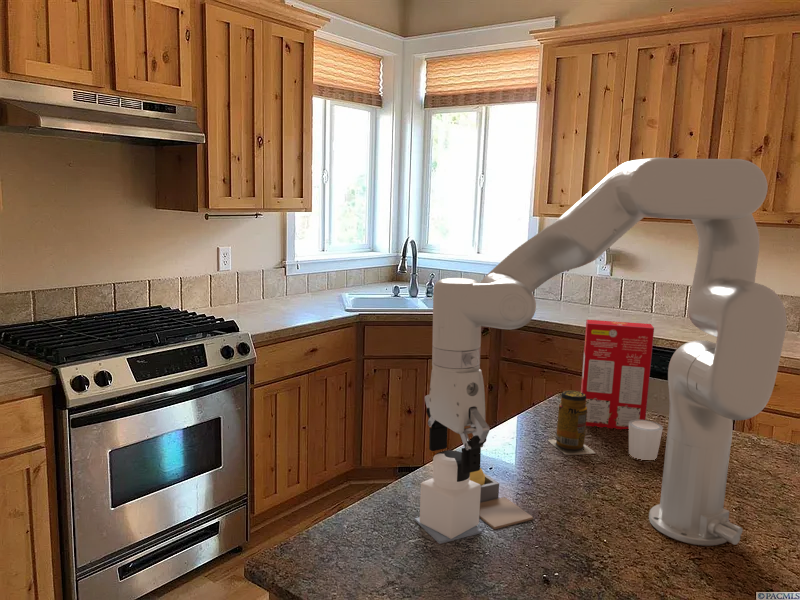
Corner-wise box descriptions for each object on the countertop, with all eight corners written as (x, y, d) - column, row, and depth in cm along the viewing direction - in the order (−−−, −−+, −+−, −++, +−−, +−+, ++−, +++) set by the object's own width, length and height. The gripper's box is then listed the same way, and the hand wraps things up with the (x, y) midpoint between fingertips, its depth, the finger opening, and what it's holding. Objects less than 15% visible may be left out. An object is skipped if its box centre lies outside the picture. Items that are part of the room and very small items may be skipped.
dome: (489, 494, 116) (490, 467, 115) (467, 499, 114) (469, 471, 113) (474, 483, 120) (476, 458, 119) (453, 488, 118) (455, 462, 117)
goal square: (481, 532, 104) (481, 530, 104) (439, 543, 100) (439, 541, 100) (455, 510, 111) (455, 508, 111) (414, 520, 107) (414, 518, 107)
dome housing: (498, 498, 116) (499, 483, 115) (465, 506, 112) (466, 490, 112) (476, 483, 122) (477, 468, 121) (444, 490, 119) (445, 474, 118)
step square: (533, 519, 109) (533, 517, 109) (494, 529, 105) (494, 527, 105) (504, 499, 116) (504, 497, 116) (467, 507, 112) (467, 505, 112)
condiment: (576, 439, 146) (580, 388, 144) (595, 453, 138) (600, 400, 136) (547, 441, 144) (550, 389, 142) (564, 455, 136) (568, 401, 134)
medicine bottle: (447, 509, 111) (450, 442, 109) (479, 524, 106) (483, 455, 104) (418, 523, 106) (420, 453, 104) (451, 540, 101) (454, 468, 99)
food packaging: (641, 424, 157) (650, 323, 153) (644, 431, 152) (654, 328, 148) (578, 417, 160) (586, 319, 156) (579, 425, 155) (587, 323, 151)
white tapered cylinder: (632, 446, 142) (635, 416, 141) (664, 455, 138) (667, 424, 137) (620, 455, 137) (623, 424, 136) (653, 465, 133) (656, 432, 132)
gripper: (509, 367, 95) (505, 476, 98) (447, 343, 110) (445, 438, 113) (466, 373, 92) (463, 486, 94) (408, 347, 107) (407, 445, 110)
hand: (453, 459), depth 104 cm, fingers open, 9 cm apart
